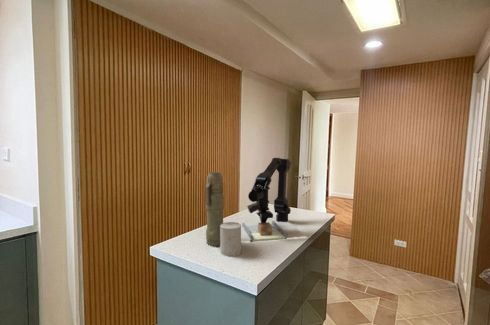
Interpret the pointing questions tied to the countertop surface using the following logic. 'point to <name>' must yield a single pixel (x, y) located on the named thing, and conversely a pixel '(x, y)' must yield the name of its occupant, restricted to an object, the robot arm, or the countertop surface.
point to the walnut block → (265, 228)
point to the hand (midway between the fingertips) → (262, 226)
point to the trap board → (275, 235)
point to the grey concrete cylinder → (230, 239)
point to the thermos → (214, 207)
